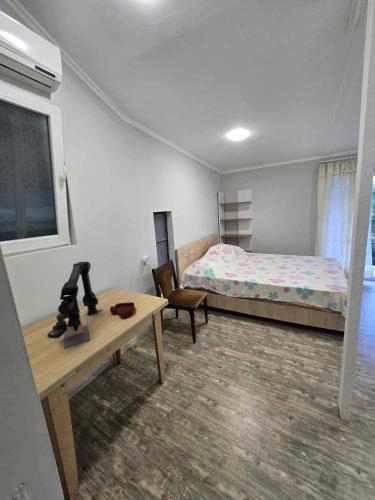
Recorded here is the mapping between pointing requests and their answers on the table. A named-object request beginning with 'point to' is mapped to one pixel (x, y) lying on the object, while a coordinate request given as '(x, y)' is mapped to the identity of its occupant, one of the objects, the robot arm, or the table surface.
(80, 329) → the tile
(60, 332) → the film camera
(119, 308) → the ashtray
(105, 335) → the table surface
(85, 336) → the mat
